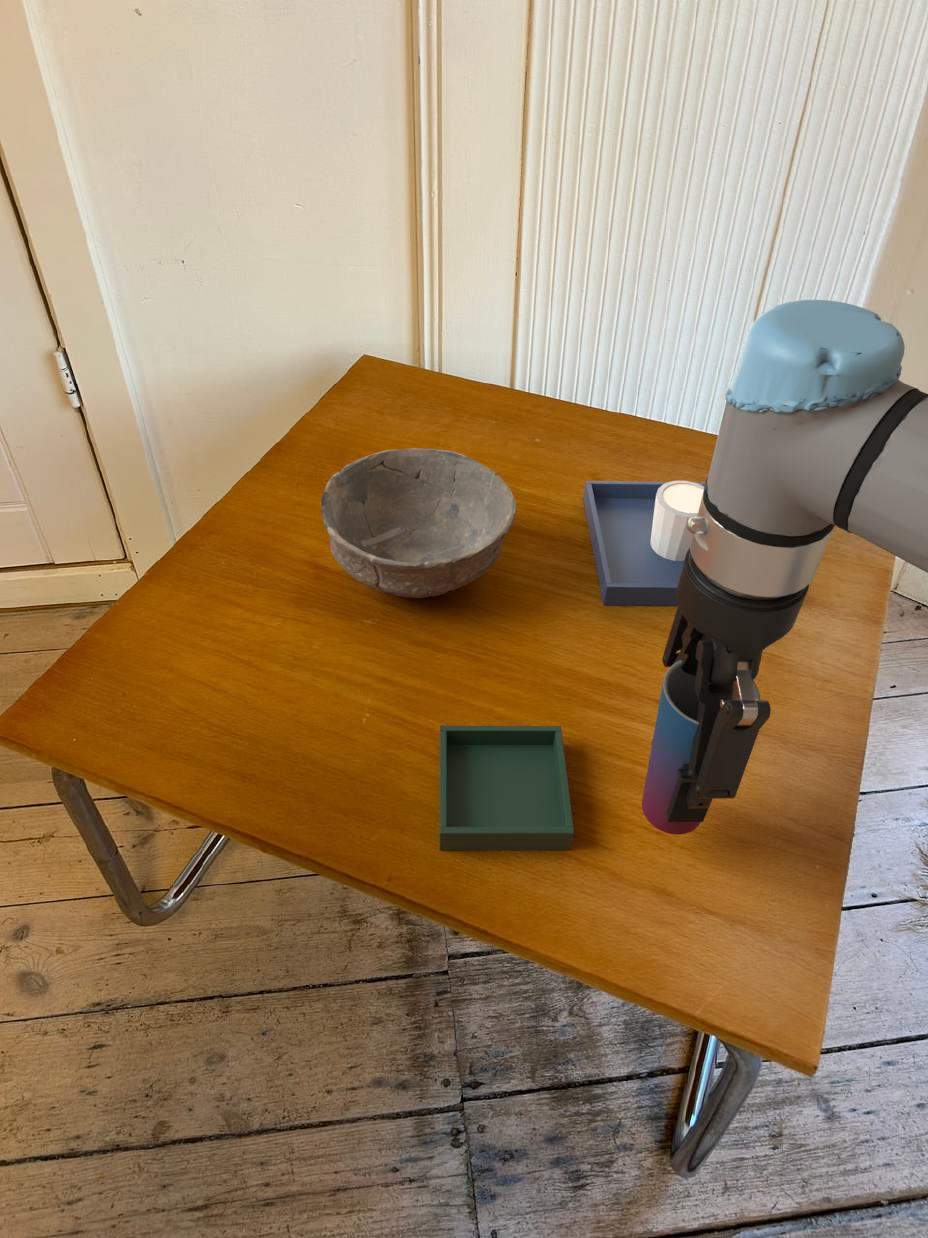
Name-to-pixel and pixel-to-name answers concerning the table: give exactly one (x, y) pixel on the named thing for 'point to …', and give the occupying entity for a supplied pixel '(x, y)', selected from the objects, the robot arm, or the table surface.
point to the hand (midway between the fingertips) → (676, 781)
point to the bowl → (416, 520)
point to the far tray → (628, 544)
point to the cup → (672, 747)
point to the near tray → (504, 789)
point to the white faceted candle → (674, 518)
